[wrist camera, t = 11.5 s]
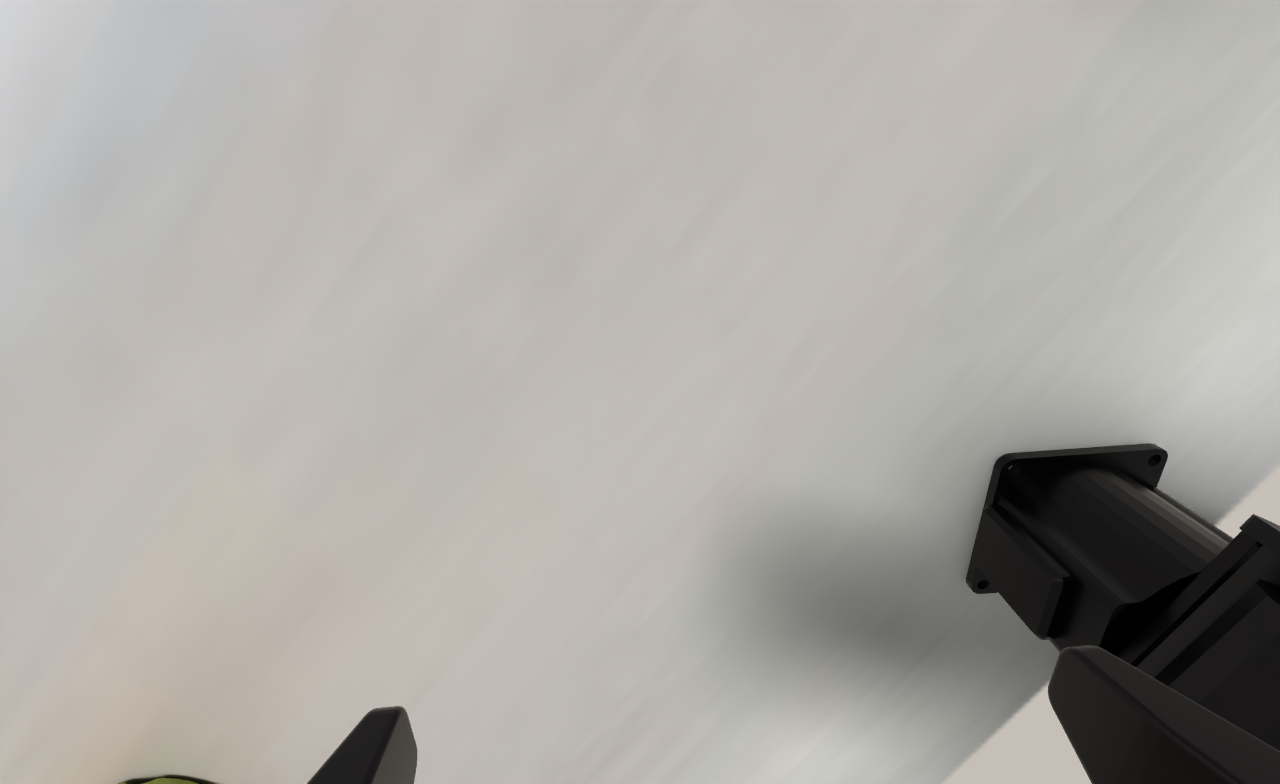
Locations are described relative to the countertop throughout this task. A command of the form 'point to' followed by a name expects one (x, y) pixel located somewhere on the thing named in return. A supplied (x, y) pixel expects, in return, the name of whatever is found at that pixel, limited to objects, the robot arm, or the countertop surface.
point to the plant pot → (169, 781)
